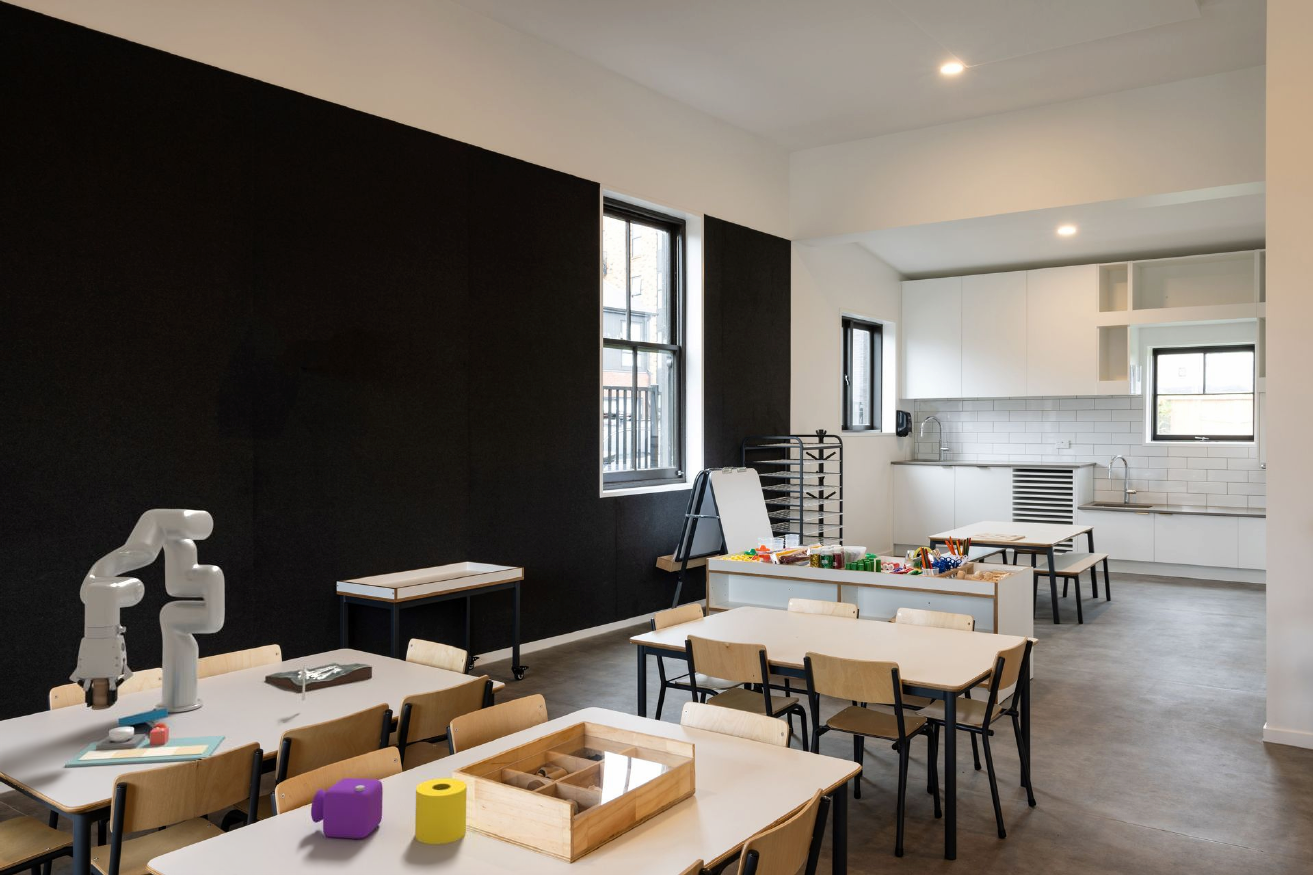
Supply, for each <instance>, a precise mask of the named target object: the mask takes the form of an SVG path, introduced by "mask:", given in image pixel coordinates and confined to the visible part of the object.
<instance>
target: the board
mask: <svg viewBox="0 0 1313 875" xmlns="http://www.w3.org/2000/svg"><path fill="white" fill-rule="evenodd" d="M169 731H170V727H167V726H166V728H158V727H157V728H154V729H153V728H152V730H150V732H149V739H147V738H146V734H145V733H143V734H141V733H139V734H134V737H133V738H131V739H128V742H115V741H111V740H109V735H107V736H106V737H104V738H103V739H102V740H101V741H92V742H91V743H89V745H87V746H86V747H85V748H84V749H82V750H81V751H80V752H78V753H77V754H76V755H75V756H74V757H73V758H71V759H70V760H69V761H67V762H66V763H65V764H64V768H75V767H76V768H77V767H90V766H92V767H93V766H105V765H106V766H111V765H112V766H113V765H129V764H147V763H148V764H150V763H165V762H166V763H167V762H168V763H169V762H184V761H186V762H187V761H199V760H198V759H201V758H206V757H208V756H210V757H211V756H212V755H213V753H215V751H216V750H217V749H218V747H219V746H220V745H221V743H222V742H223V741H224V740H225V739H226V736H225V735H212V736H211V735H209V736H206V735H205V736H192V737H191V736H189V737H187V736H186V737H171V738H170V736H169V735H170V732H169Z"/></svg>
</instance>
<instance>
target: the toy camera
mask: <svg viewBox="0 0 1313 875" xmlns="http://www.w3.org/2000/svg"><path fill="white" fill-rule="evenodd" d="M383 793H384V790H383V783H382V780H379V779H374V778H373V779H372V778H370V779H369V778H351V777H349V778H348V777H346V778H343V779H341V780H339V781H337V782H336V783H335V784H334V785H332V786H331V787H330V788H328V789H327V791H326V790H325V789H323V788H320V789H318V790H317V791H316V793H315V795H314V797H313V800H312V802H311V808H310V816H311V820H312V821H313V822H314V823H317V824H318V823H319V822H321V821H322V829H323V830H322V831H323V834H324V836H326V837H329V838H339V839H340V838H342V839H361V840H362V839H365V838H366V837H367V836H369V835H370V834H371V833H372V832H373V831H374V830H375V829H376V828H377V827H378V826H379V825H380V824H381V822H382V819H383Z"/></svg>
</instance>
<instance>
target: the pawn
mask: <svg viewBox="0 0 1313 875" xmlns="http://www.w3.org/2000/svg"><path fill="white" fill-rule="evenodd" d="M109 690H110V682H109V678H97V679H93V704H92V706H91V710H93V711H103V710H107V709H109V708H111V707H112V706H108V691H109Z"/></svg>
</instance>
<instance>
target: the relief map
mask: <svg viewBox="0 0 1313 875" xmlns="http://www.w3.org/2000/svg"><path fill="white" fill-rule="evenodd" d="M305 664H306V663H305V662H304V663H303V668H301V669H298V670H292V671H291V670H290V671H286V672H282V671H281V672H275V673H272V674H269V675H265V678H264V679H265V680H264V681H265V682H268V683H270V684H273V685H274V684H275V685H276V686H280V687H283V688H286V689H289V690H292V691H295V692H297V693H302V694H301V701H306V692H309V691H313V690H319V689H325V688H329V687H334V686H339V685H344V684H349V683H354V682H358V681H359V682H360V681H364V680H369V679H372V678H373V666H372V665H369V664H367V663H350V664H339V663H336V662H333V663H330V664H325V665H320V666H316V667H313V668H306V665H305Z"/></svg>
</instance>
